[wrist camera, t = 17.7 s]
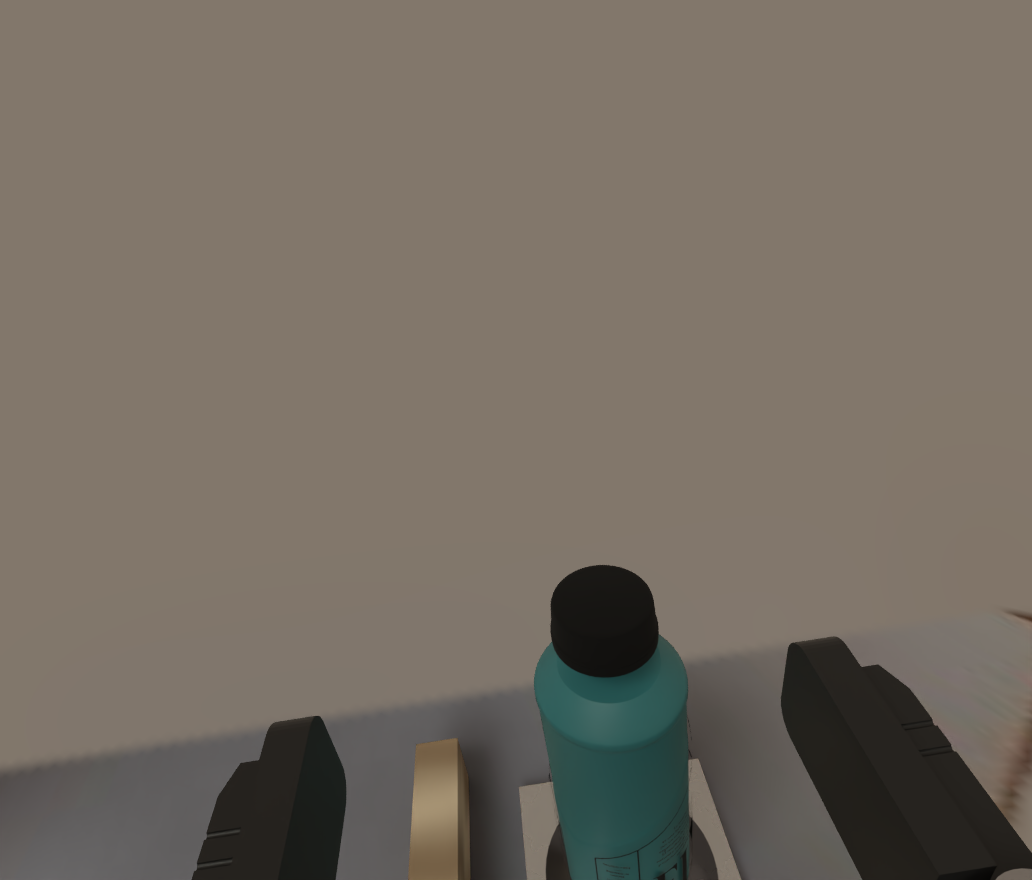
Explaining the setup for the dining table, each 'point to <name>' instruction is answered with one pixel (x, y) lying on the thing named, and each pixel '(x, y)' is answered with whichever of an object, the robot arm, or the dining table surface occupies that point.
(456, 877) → the sill
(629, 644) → the beverage bottle
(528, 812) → the plate
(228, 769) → the dining table surface
